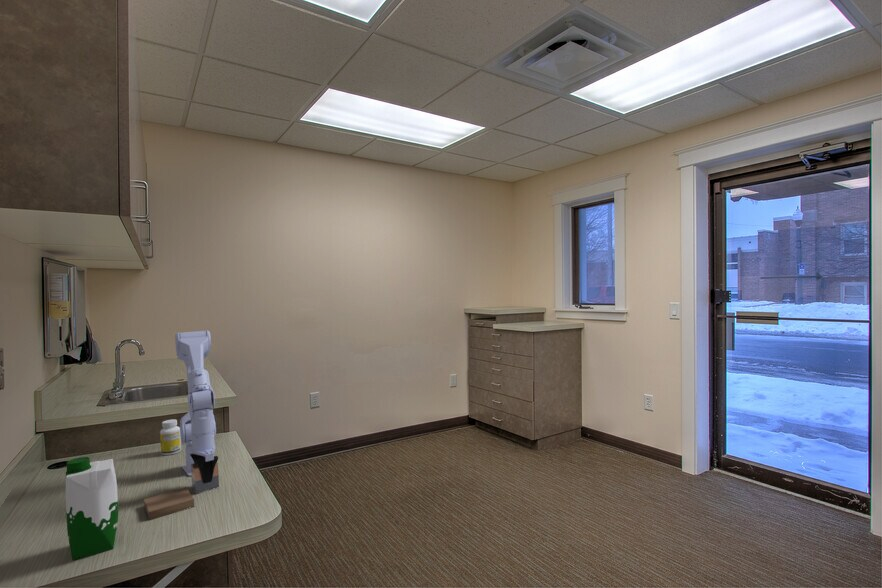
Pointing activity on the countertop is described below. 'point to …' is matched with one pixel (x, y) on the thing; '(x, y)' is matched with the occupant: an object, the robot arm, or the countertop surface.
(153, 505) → the walnut stand
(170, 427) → the supplement bottle
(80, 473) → the milk carton
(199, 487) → the block
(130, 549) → the countertop surface
